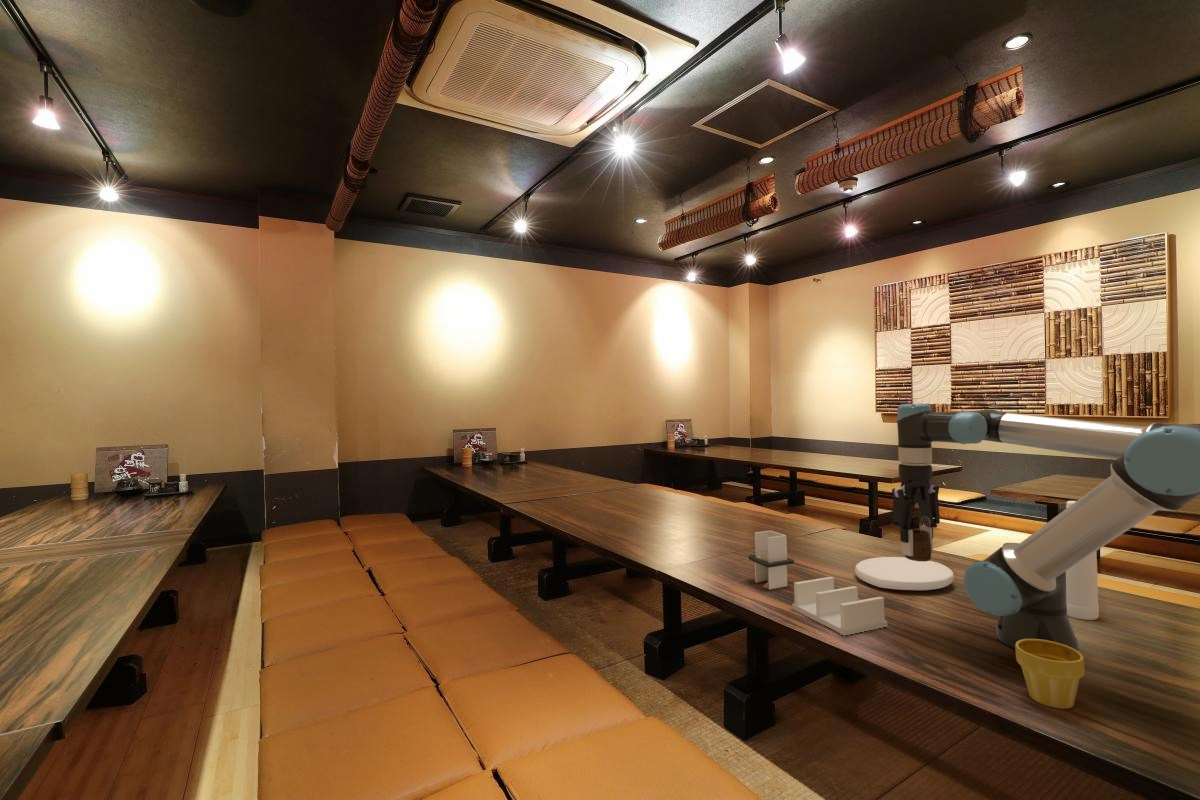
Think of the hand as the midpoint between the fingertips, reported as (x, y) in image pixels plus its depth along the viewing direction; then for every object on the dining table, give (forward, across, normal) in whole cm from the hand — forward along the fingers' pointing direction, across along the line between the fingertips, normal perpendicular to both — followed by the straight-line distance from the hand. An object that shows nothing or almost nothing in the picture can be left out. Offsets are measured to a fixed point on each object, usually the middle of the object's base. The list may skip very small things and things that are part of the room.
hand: (917, 553), depth 140 cm
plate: (+19, -25, -28) cm, 42 cm away
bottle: (+19, -44, +10) cm, 49 cm away
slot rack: (+19, +15, -12) cm, 27 cm away
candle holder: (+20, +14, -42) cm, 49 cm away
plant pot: (+19, +6, +35) cm, 40 cm away
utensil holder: (+2, 0, 0) cm, 2 cm away
